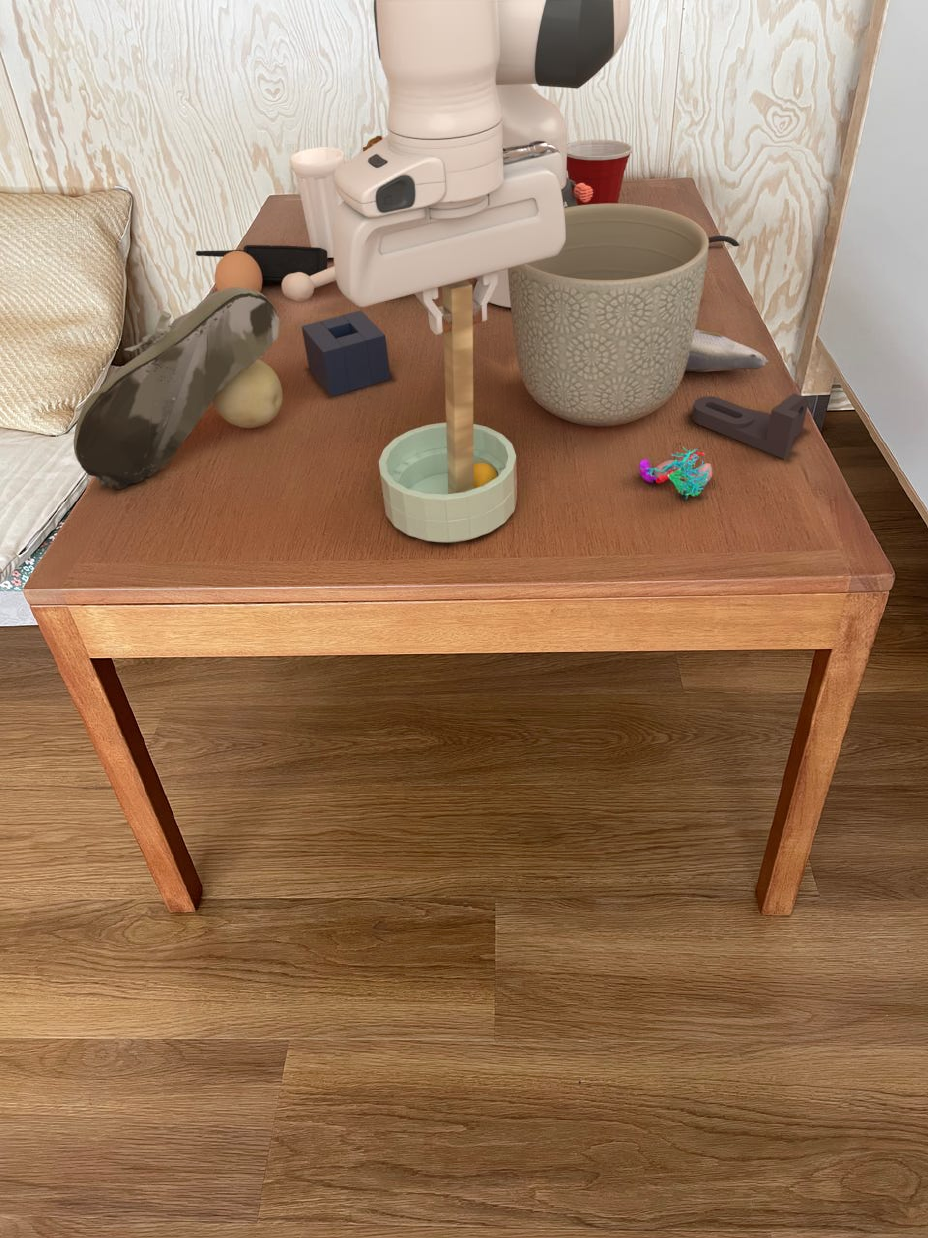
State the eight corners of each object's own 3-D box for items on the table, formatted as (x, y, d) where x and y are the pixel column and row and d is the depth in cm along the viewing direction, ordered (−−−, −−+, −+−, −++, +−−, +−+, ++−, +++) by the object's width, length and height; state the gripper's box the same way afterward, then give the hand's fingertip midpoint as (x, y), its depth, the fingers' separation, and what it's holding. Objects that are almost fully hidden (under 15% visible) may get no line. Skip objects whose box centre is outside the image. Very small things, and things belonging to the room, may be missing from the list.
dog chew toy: (274, 271, 140) (280, 281, 132) (388, 235, 142) (401, 243, 133) (284, 299, 142) (290, 310, 134) (396, 263, 144) (409, 272, 135)
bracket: (714, 398, 112) (720, 359, 108) (811, 436, 105) (821, 395, 102) (685, 418, 109) (690, 379, 105) (784, 459, 102) (793, 418, 99)
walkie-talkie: (324, 296, 141) (198, 293, 145) (334, 268, 144) (210, 265, 148) (314, 261, 136) (183, 259, 140) (324, 232, 139) (196, 231, 143)
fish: (612, 331, 128) (572, 353, 122) (615, 300, 125) (574, 321, 119) (779, 371, 116) (745, 397, 110) (786, 338, 114) (751, 363, 107)
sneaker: (137, 511, 106) (108, 471, 113) (295, 324, 105) (257, 294, 111) (52, 458, 98) (25, 418, 104) (223, 253, 96) (186, 225, 102)
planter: (558, 468, 103) (560, 299, 90) (484, 381, 118) (476, 225, 105) (725, 421, 108) (750, 254, 95) (634, 343, 122) (645, 189, 109)
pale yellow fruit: (247, 401, 118) (232, 340, 112) (299, 413, 115) (287, 352, 109) (208, 432, 113) (191, 370, 107) (262, 446, 110) (247, 383, 104)
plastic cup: (635, 215, 154) (640, 135, 146) (620, 241, 147) (625, 158, 139) (569, 210, 157) (571, 131, 149) (552, 236, 150) (552, 154, 142)
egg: (270, 290, 134) (270, 251, 139) (226, 269, 130) (227, 230, 136) (249, 324, 138) (250, 285, 143) (206, 304, 135) (208, 265, 140)
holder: (367, 353, 125) (361, 309, 121) (390, 379, 120) (385, 334, 116) (309, 369, 123) (301, 325, 119) (330, 396, 117) (323, 351, 113)
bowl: (479, 456, 106) (477, 409, 102) (540, 521, 97) (540, 471, 93) (366, 493, 102) (358, 445, 98) (418, 564, 93) (412, 514, 89)
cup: (298, 261, 148) (281, 164, 138) (316, 240, 154) (300, 145, 144) (348, 263, 146) (333, 165, 136) (364, 242, 152) (351, 146, 142)
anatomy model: (675, 418, 101) (635, 437, 97) (739, 446, 97) (699, 468, 93) (667, 461, 104) (627, 481, 100) (728, 491, 100) (689, 513, 96)
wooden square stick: (465, 489, 98) (462, 276, 83) (474, 499, 96) (472, 284, 82) (447, 494, 97) (441, 280, 83) (456, 504, 96) (451, 288, 81)
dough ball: (458, 478, 100) (492, 481, 101) (461, 503, 98) (495, 506, 99) (466, 453, 97) (500, 456, 98) (468, 478, 95) (503, 482, 96)
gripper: (542, 125, 81) (543, 284, 90) (313, 176, 75) (339, 340, 84) (581, 145, 76) (578, 310, 86) (342, 200, 70) (366, 370, 80)
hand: (458, 325), depth 85 cm, fingers closed on wooden square stick, 2 cm apart
